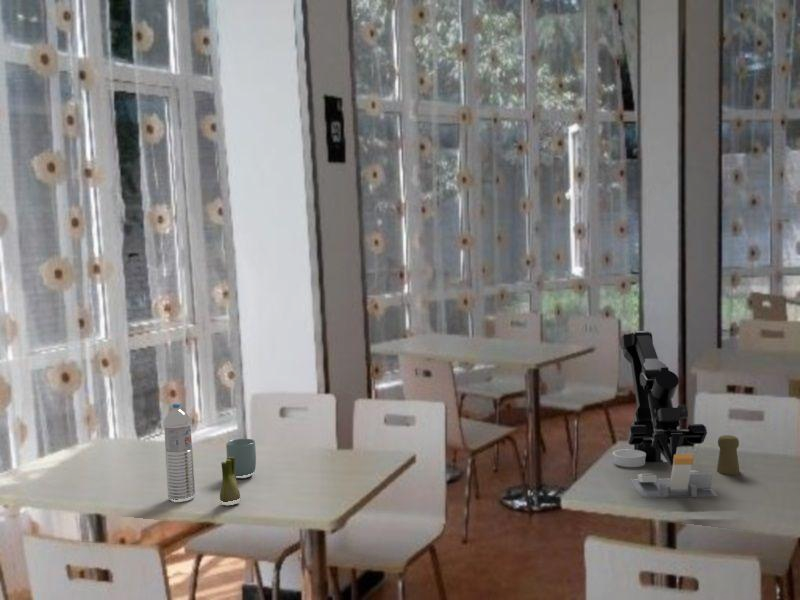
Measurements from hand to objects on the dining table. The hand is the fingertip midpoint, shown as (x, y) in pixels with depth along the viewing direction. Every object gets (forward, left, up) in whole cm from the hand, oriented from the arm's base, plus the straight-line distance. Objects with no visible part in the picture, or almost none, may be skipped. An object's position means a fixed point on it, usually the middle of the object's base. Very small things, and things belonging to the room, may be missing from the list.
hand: (672, 464), depth 218 cm
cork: (+2, +22, -8) cm, 23 cm away
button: (+1, +6, -6) cm, 9 cm away
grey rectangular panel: (+5, +3, -5) cm, 8 cm away
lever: (+4, -4, -5) cm, 7 cm away
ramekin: (-21, +11, -8) cm, 25 cm away
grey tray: (0, +1, -7) cm, 8 cm away
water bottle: (-85, -91, -8) cm, 125 cm away
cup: (-91, -70, -8) cm, 115 cm away
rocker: (-6, -2, -4) cm, 8 cm away
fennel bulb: (-72, -84, -8) cm, 111 cm away
